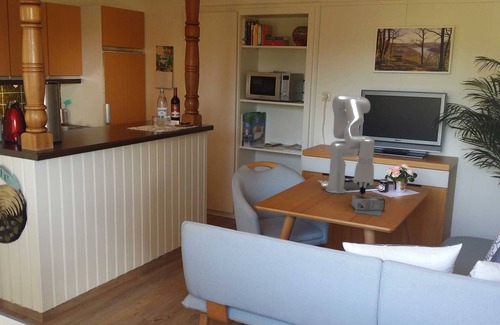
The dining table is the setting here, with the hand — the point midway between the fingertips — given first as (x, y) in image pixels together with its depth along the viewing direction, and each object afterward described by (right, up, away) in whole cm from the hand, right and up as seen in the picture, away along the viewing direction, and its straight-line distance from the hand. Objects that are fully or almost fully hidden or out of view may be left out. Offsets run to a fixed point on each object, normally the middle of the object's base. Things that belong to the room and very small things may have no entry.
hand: (362, 194), depth 284 cm
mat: (+3, -9, +1) cm, 10 cm away
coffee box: (-4, -5, +3) cm, 7 cm away
